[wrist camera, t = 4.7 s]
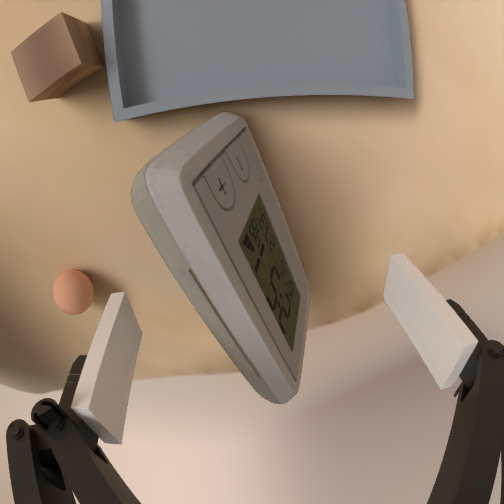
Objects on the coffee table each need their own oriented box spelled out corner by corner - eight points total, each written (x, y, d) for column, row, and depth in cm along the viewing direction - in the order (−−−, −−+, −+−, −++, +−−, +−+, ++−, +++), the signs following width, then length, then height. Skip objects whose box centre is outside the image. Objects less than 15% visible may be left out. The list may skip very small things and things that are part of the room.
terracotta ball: (71, 298, 24) (58, 324, 20) (56, 264, 22) (39, 289, 19) (104, 294, 24) (93, 322, 21) (90, 258, 22) (75, 284, 19)
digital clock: (307, 295, 26) (348, 393, 17) (206, 316, 26) (209, 423, 17) (282, 100, 18) (349, 110, 9) (147, 129, 18) (87, 168, 9)
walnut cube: (58, 97, 16) (29, 101, 12) (41, 55, 14) (11, 52, 10) (104, 67, 15) (81, 63, 12) (86, 23, 13) (61, 12, 10)
